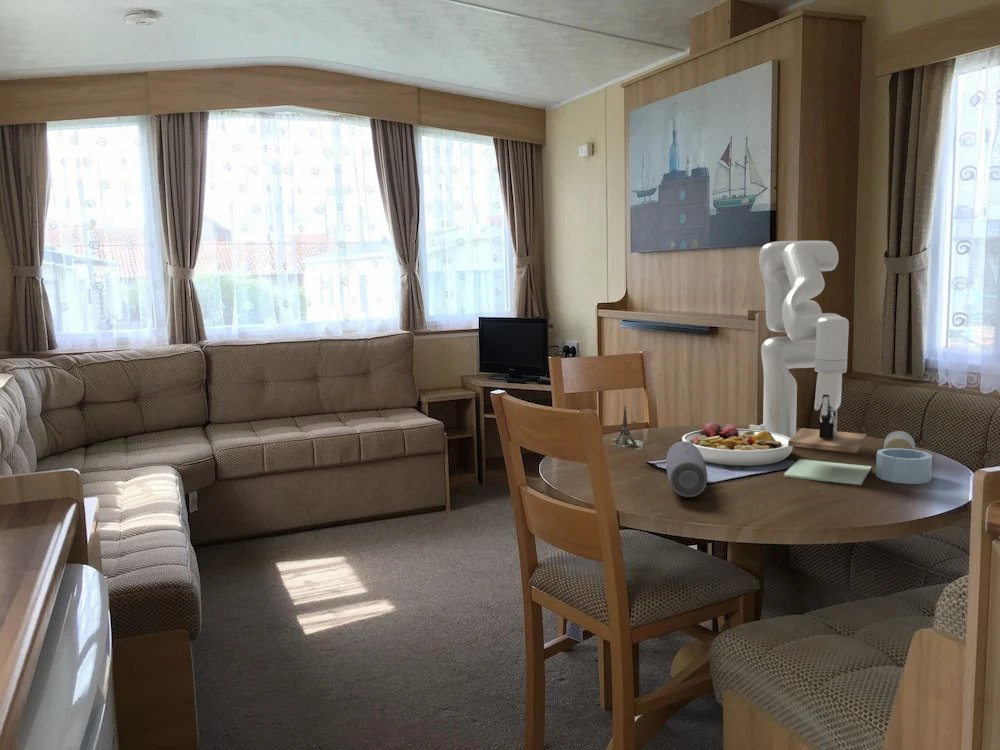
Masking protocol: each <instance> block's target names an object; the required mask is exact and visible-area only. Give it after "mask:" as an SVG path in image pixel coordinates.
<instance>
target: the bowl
mask: <svg viewBox="0 0 1000 750" xmlns="http://www.w3.org/2000/svg"><path fill="white" fill-rule="evenodd" d="M681 437H682V438H681V441H686V442H690V443H692V444H693V445H695V446H696V447H697V448H698V450H699V451H700V453H701V455H702V457H703V459H704V462H705V463H709V464H714V465H721V466H722V465H723V466H736V467H738V466H739V467H751V466H752V467H753V466H754V467H757V466H765V465H771V464H775V463H776V464H777V463H779V462H781V461H784V460H785V459H787V458H788V457H789V456H790V454H791V453H792V452H793V448H794V446H788V441H789V440H790V438H789V437H787V436H784V435H781V434H777V433H772V432H769V431H768V432H767V431H759V430H749V428H746V429H745V428H737V427H736V426H735V425H734V424H731V423H728V424H724V426H723V427H721V425H720V423H718V422H716V421H710V422H707V423H705V424H704V425H703V428H702V430H696V431H691V432H689V433H686V434H684V435H683V436H681Z"/></svg>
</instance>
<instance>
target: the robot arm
mask: <svg viewBox="0 0 1000 750" xmlns="http://www.w3.org/2000/svg"><path fill="white" fill-rule="evenodd" d="M758 255H759V256H758V264H759V269H760V274H761V276H762V280H763V282H764V288H765V320H766V321H765V323H766V326H767V329H768V330H769V331H770V332H771V331H772V332H775V333H776V332H777V333H785V334H786V335H787V336H773V337H770V338H767V339H766V340H764V342H762V344H761V347H760V354H761V361H762V368H763V370H762V371H763V403H762V407H763V409H762V411H763V413H762V417H763V418H762V420H763V421H762V423H761V424H759V425H758V424H757V425H756V424H749V426H748V429H749V430H759V431H767V432H768V431H769V432H772V433H777V434H781V435H784V436H787V437H789V438H790V439H791V438H792V437H793V436H794V435H795V434H796V433H797V409H798V408H797V405H798V403H797V401H798V400H797V399H798V398H797V397H798V396H797V395H798V384H797V380H796V379H795V377H794V376H793V374H792V372H790V370H789V369H807V368H812V369H813V368H814V372H817V376H816V384H815V385H816V386H815V394H814V395H815V399H814V406H813V407H814V410H815V411H816V412H818V411H819V410H820V409H821V410H820V415H821V418H820V417H819V421H820V422H819V430H820V433H819V437H820V438H826V439H832V438H833V429H834V423H832V422H833V415H835V416H837V417H838V409H839V407H840V406H841V403H842V389H843V388H842V387H843V374H845V373H848V372H847V371H848V355H849V354H848V352H849V351H848V350H849V349H848V348H849V333H850V332H849V329H850V325H849V324H850V322H849V320H848V319H847V318H846V317H844V316H841V315H839V314H837V313H834V312H833V313H831V312H825V313H823V311H822V308H821V306H820V305H819V303H818V302H817V301H815V300H811V299H813V298H815V297H817V296H818V295H820V294H821V293H822V292H823V290H824V288H825V285H826V283H825V279H824V276H823V273H822V272H831V271H833V270H835V269H836V267H837V266H838V263H839V258H840V257H839V251H838V249H837V246H836V245H835V244H834V242H832V241H829V240H781V241H780V240H778V241H771V242H768V243H765V244H764V245H763V246H762V247H761V248H760V251H759V254H758Z"/></svg>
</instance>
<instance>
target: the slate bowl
mask: <svg viewBox="0 0 1000 750" xmlns="http://www.w3.org/2000/svg"><path fill="white" fill-rule="evenodd" d="M875 459H876V462H875V477H877V478H878V479H880V480H882V481H886V482H890V483H894V484H895V483H896V484H907V485H918V484H919V485H920V484H921V485H923V484H927V483H930V482H931V480H932V465H933V464H932V463H933V461H932V460H933V455H932V454H931V453H929V452H927V451H922V450H918V449H915V450H913V449H901V448H891V449H884V448H882V449H878V450H877V452H876V458H875Z"/></svg>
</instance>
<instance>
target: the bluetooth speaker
mask: <svg viewBox="0 0 1000 750" xmlns="http://www.w3.org/2000/svg"><path fill="white" fill-rule="evenodd" d="M665 459H666V460H665V469H666V470H665V471H666V473H667V474H666V475H667V478H668V481H669V485H670V486H671V488H672V489H673V491H674V492H675V493H677V495H679V496H681V497H685V498H694V497H697V496H699V495H700V494H702V493H703V492H704V491H705V489H706V487H707V483H708V472H707V471H708V470H707V467H706V462H705V461H704V459H703V457H702V455H701V453H700V451H699V450H698V448H697V447H696V446H695V445H693V444H692V443H690V442H686V441H682V440H681V441H677V442H675V443H673V444H672V445H671V446H670V447H669V449H668V451H667V453H666V456H665Z"/></svg>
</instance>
